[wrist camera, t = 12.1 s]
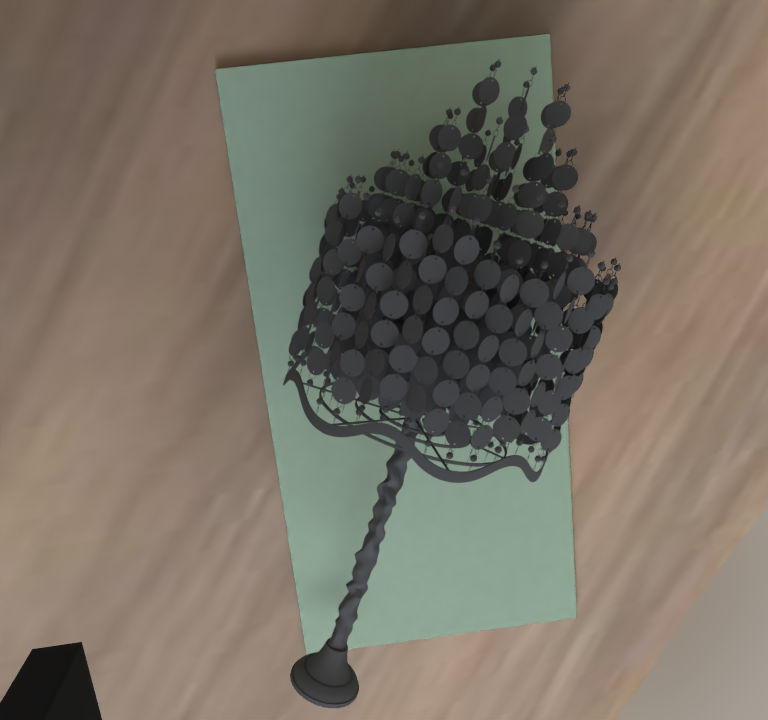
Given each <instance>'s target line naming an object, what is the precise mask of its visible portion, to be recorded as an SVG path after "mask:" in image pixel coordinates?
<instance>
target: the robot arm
mask: <svg viewBox="0 0 768 720" xmlns="http://www.w3.org/2000/svg"><path fill="white" fill-rule="evenodd" d="M0 720H102V718H101V714H100V710H99V706H98V702H97V699H96V695H95V691H94V687H93V683H92V680H91V676H90V672H89V668H88V664H87V661H86V657H85V653H84V649H83V645H82V642H79V643H72V644H65V645H58V646H51V647H45V648H38V649H32V651H31V652H30V654H29V656H28V657H27V659H26V661H25V663H24V664H23V666H22V668H21V669H20V671H19V673H18V674H17V676H16V678H15V679H14V681H13V683H12V684H11V686H10V688H9V689H8V691H7V693H6V694H5V696H4V698H3V699H2V701H1V703H0Z"/></svg>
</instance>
